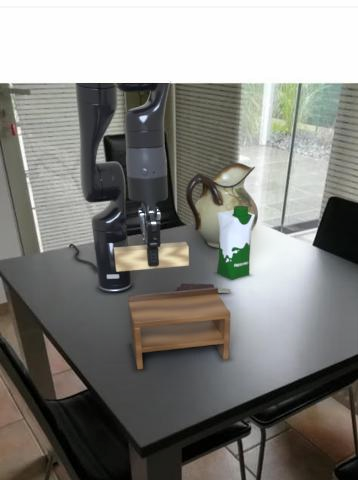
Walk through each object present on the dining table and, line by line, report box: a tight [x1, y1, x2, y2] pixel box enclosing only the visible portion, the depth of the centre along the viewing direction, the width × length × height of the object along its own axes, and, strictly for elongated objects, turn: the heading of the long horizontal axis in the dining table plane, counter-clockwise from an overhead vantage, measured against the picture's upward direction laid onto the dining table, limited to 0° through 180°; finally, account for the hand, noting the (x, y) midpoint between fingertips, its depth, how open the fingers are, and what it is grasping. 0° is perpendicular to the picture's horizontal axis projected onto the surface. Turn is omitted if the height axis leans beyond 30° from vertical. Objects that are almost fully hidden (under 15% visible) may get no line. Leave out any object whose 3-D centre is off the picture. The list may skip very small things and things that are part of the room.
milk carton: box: [216, 206, 255, 281], centre depth 141 cm, size 9×9×20 cm
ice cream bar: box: [176, 283, 232, 294], centre depth 135 cm, size 5×2×15 cm
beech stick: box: [114, 241, 190, 272], centre depth 99 cm, size 15×3×4 cm, turn 100°
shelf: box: [127, 286, 231, 370], centre depth 104 cm, size 11×20×12 cm, turn 101°
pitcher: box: [185, 162, 259, 249], centre depth 164 cm, size 22×24×25 cm
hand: (152, 262), depth 99 cm, fingers closed on beech stick, 3 cm apart
